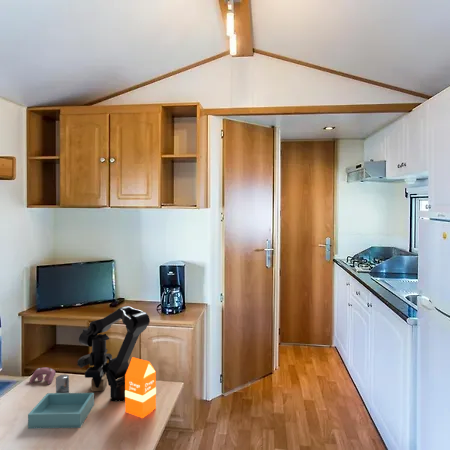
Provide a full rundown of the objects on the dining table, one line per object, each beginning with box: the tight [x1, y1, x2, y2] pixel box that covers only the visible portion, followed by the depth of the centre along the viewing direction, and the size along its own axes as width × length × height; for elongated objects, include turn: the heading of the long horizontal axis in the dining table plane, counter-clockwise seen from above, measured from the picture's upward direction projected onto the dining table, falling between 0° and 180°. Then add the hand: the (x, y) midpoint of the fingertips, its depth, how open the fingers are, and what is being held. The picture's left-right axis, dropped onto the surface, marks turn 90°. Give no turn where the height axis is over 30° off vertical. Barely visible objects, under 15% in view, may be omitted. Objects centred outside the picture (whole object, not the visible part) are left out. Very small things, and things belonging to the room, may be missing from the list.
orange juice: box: [124, 356, 157, 419], centre depth 139 cm, size 8×9×20 cm
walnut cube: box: [90, 374, 108, 392], centre depth 156 cm, size 5×5×5 cm
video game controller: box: [29, 366, 57, 385], centre depth 163 cm, size 10×5×7 cm, turn 84°
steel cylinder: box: [55, 374, 70, 393], centre depth 152 cm, size 5×5×7 cm
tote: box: [27, 392, 95, 429], centre depth 135 cm, size 18×15×5 cm
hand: (99, 384), depth 156 cm, fingers closed on walnut cube, 5 cm apart
